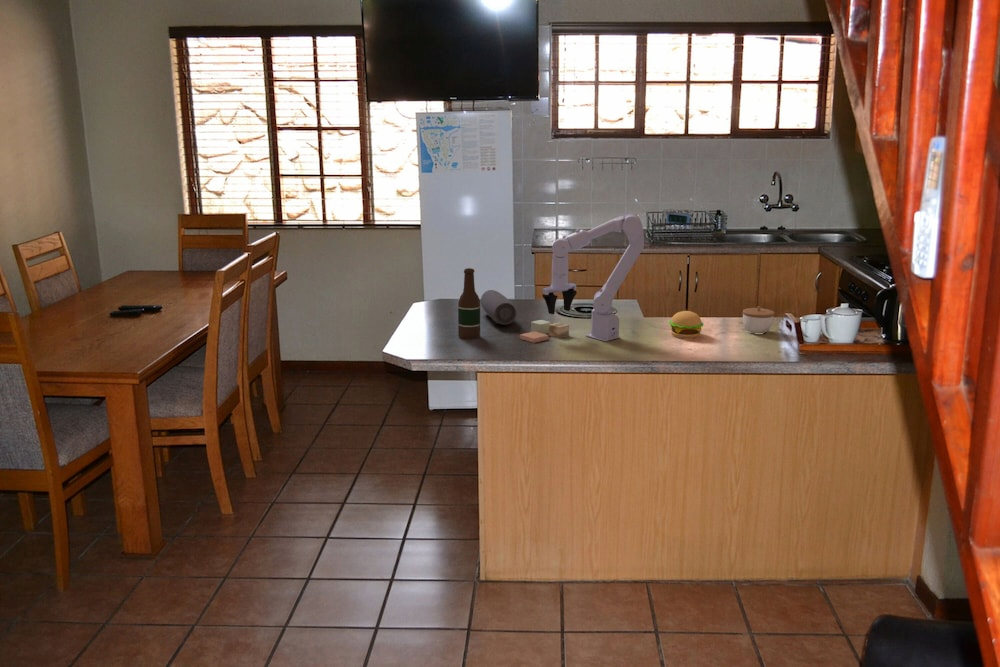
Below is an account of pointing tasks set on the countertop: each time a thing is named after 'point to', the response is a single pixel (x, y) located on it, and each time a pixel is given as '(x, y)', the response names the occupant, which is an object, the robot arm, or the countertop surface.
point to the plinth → (534, 337)
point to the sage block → (540, 326)
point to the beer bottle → (469, 308)
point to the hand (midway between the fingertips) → (559, 312)
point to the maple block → (558, 330)
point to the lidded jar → (757, 319)
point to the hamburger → (686, 325)
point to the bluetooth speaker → (498, 307)
